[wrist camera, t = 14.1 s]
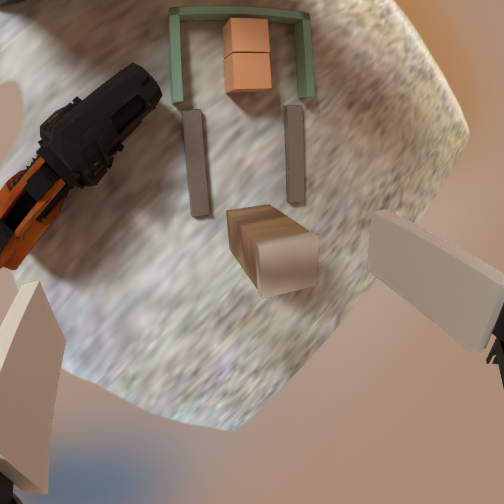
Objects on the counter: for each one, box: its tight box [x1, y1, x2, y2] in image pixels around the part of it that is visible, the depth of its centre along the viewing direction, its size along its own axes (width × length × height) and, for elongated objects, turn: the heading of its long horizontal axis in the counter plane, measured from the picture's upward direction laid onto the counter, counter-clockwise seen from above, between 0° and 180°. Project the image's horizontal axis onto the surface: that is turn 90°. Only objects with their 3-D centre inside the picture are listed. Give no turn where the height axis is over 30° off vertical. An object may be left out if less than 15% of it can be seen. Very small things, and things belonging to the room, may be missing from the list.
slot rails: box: [182, 105, 305, 217], centre depth 36 cm, size 12×14×1 cm
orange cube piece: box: [222, 18, 270, 59], centre depth 29 cm, size 4×4×4 cm
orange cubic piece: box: [223, 53, 272, 93], centre depth 31 cm, size 4×4×4 cm
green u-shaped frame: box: [168, 6, 315, 104], centre depth 30 cm, size 11×16×2 cm
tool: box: [0, 63, 162, 270], centre depth 26 cm, size 8×23×15 cm, turn 128°
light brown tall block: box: [226, 205, 319, 299], centre depth 34 cm, size 5×6×12 cm
